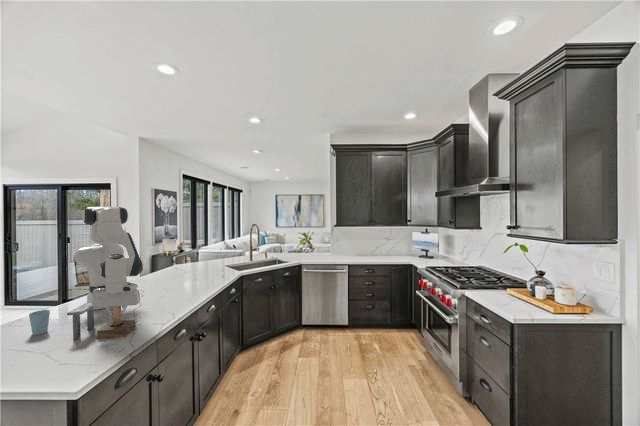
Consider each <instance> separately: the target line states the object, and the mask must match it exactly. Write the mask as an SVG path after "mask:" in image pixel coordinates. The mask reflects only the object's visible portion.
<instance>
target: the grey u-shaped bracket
mask: <svg viewBox="0 0 640 426" xmlns="http://www.w3.org/2000/svg"><path fill="white" fill-rule="evenodd" d="M85 313H87V314H86V317H87V319H86V321H87V323H86V324H87V331H91V330H93V329H95V319H94V318H95V310H94V308H93V307H92V303H87V302H85V303H82V304H81V305H79V306H77V307H75V308H74V309H72V310H70V311H68V312H66V316H72V339H73V341H75V340H76V341H78V340H79V339H81V336H82V335H81V315H83V314H85Z"/></svg>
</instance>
